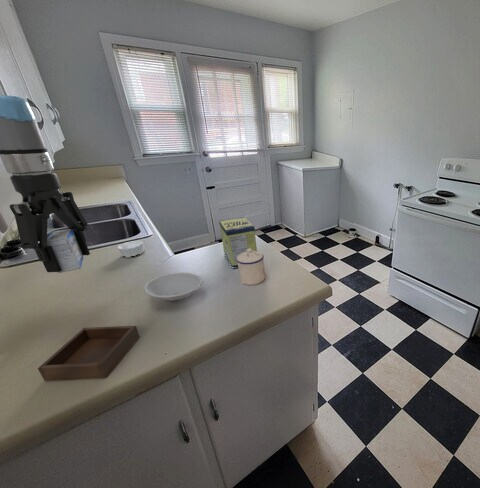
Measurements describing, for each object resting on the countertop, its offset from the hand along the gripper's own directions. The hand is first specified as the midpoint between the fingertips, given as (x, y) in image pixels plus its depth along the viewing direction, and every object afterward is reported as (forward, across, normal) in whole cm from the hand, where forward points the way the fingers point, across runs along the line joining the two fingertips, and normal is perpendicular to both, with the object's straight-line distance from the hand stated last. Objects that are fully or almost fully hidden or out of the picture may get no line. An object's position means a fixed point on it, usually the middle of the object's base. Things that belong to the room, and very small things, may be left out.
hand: (70, 262), depth 69 cm
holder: (+18, -15, -11) cm, 26 cm away
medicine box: (+1, 0, 0) cm, 1 cm away
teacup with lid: (+18, +19, -40) cm, 48 cm away
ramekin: (+17, +44, +14) cm, 49 cm away
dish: (+18, +9, -19) cm, 28 cm away
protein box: (+18, +36, -34) cm, 52 cm away
